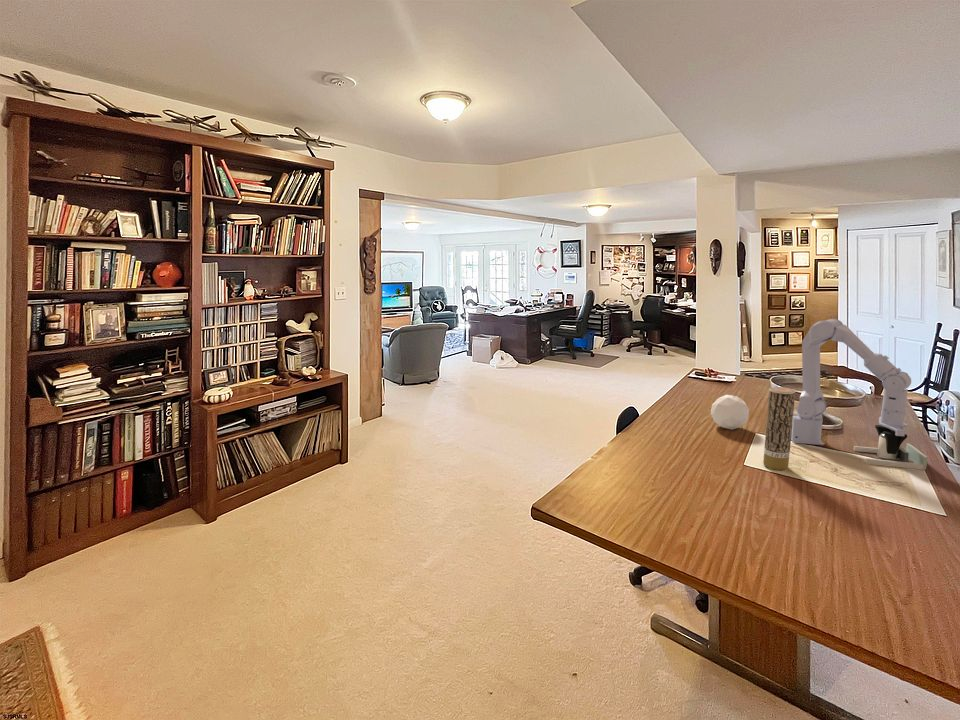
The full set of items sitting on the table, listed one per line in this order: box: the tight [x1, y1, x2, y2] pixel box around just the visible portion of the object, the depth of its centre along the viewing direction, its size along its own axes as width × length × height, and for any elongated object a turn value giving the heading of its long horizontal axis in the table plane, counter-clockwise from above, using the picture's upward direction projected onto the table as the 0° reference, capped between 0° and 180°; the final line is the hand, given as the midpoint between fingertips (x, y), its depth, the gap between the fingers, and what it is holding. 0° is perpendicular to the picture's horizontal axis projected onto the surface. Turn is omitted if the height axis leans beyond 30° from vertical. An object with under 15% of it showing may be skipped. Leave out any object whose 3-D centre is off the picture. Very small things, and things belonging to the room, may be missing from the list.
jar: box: [876, 433, 898, 461], centre depth 156 cm, size 5×5×7 cm
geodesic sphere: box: [710, 393, 750, 431], centre depth 191 cm, size 14×14×14 cm
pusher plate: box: [896, 446, 909, 462], centre depth 155 cm, size 1×10×4 cm, turn 158°
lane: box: [853, 443, 929, 470], centre depth 156 cm, size 15×13×4 cm
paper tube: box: [762, 386, 796, 471], centre depth 151 cm, size 7×7×25 cm
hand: (888, 450), depth 156 cm, fingers closed on jar, 5 cm apart
